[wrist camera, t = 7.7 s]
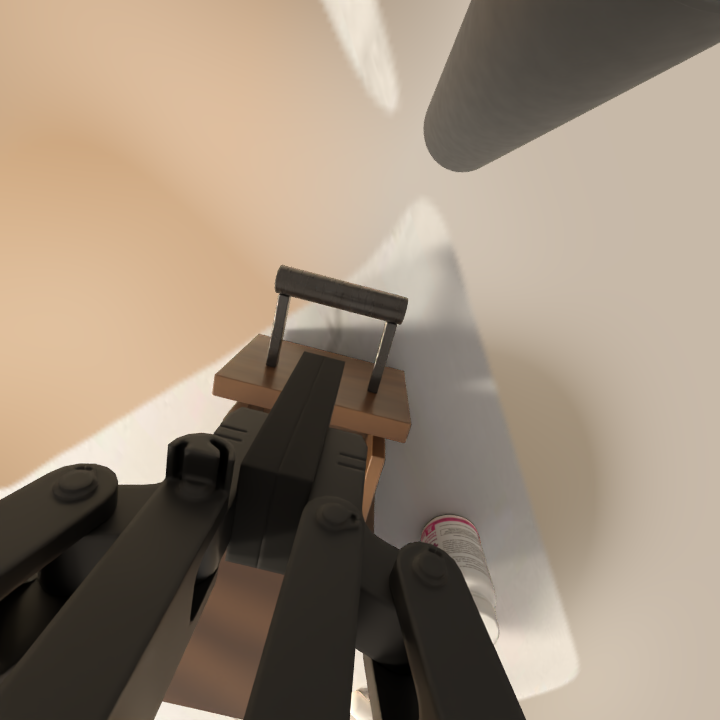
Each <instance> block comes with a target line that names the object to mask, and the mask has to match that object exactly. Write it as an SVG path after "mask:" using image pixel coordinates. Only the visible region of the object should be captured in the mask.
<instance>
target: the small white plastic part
mask: <svg viewBox="0 0 720 720" xmlns="http://www.w3.org/2000/svg"><path fill="white" fill-rule="evenodd" d="M350 714H351V715H353V716H354V717H355V718H356V719H357V720H373V718H372V711H371V705H370V701H369V700H368V699H367V698H366V697H365V696H364V695H363V694H362V693H361V692H359V691H354V692H352V696H351V709H350Z"/></svg>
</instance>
